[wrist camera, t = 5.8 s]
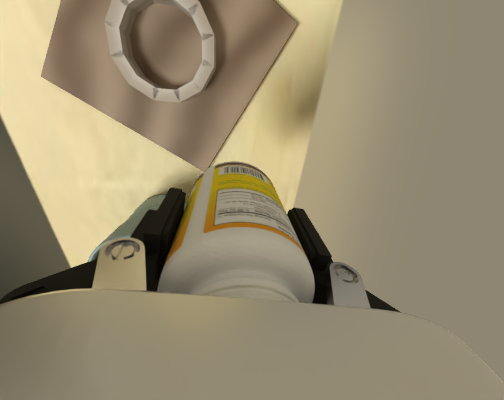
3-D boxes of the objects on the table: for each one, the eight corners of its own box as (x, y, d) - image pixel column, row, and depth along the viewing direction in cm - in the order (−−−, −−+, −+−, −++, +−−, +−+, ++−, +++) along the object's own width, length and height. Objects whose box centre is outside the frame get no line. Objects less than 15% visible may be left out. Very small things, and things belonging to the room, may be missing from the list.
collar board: (294, 26, 24) (304, 15, 21) (206, 169, 31) (203, 178, 27) (112, -149, 18) (86, -204, 15) (49, 77, 24) (20, 74, 21)
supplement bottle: (217, 243, 16) (200, 441, 7) (174, 181, 14) (65, 365, 5) (286, 214, 15) (366, 391, 6) (255, 143, 13) (315, 269, 4)
